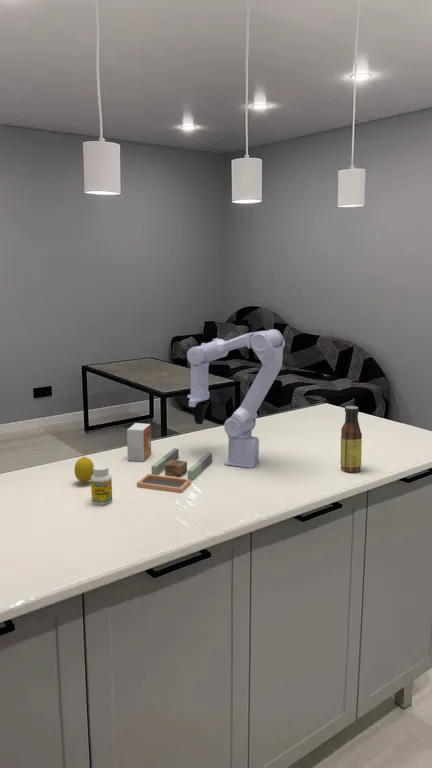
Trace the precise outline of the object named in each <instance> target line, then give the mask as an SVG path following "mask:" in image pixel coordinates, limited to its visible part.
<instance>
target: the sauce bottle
mask: <svg viewBox="0 0 432 768" xmlns="http://www.w3.org/2000/svg"><path fill="white" fill-rule="evenodd" d="M359 410H360V409H359V407H358V406H356V405H347V406H344V411H345V415H344V417H345V418H344V424H343V425H342V427H341V433H340V435H341V436H340V469H341V471H343V472H346V473H359V472H360V471H361V467H362V449H363V448H362V443H363V440H362V438H363V435H362V431H361V428H360V423H359Z"/></svg>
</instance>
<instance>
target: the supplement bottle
mask: <svg viewBox="0 0 432 768" xmlns="http://www.w3.org/2000/svg"><path fill="white" fill-rule="evenodd" d="M109 471H110V470H109V466H108V465H106V464H98V465H94V467H93V473H94V474H93V475H92V476H91V480H90V485H91V489H90V491H91V502H92V503H93V504H94V505H97V506H104V505H109V504H110V503H111V502H112V501H113V487H112V486H113V483H112V482H113V481H112V480H113V479H112V475H111V474H110V473H109Z"/></svg>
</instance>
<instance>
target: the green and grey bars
mask: <svg viewBox="0 0 432 768" xmlns="http://www.w3.org/2000/svg"><path fill="white" fill-rule="evenodd" d="M179 452H180V451H179V448H173V449H171V450H170V451H168V453H166V454H165V455H164V456H162V457H161V458H160V459H158V460H157V461H156V462H155V463H153V464H152V465H151V467H150V469H151V474H152V475H159V474H161V473H163V471H165V464H167V463H168V462H169V461H171V460H178V459H179V458H180V457H179V454H180V453H179ZM212 462H213V452H209V451H207V452H206V453H205V454H204V455H203V456H202V457H201V458H200V459H198V461H196V462H195V463H194V464H193V465H192V466H191V467H190V468H189V469H187V479H191V482H194V480H195V479H196V478H197V477H198V476H199V475H200V474H201V473H202V472H203V471H204V470H205V469H206V468H207V467H208V466H210V464H211V463H212Z"/></svg>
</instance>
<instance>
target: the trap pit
mask: <svg viewBox="0 0 432 768" xmlns="http://www.w3.org/2000/svg"><path fill="white" fill-rule="evenodd" d="M190 485H192V481H191V479H188V478H183V477H182V478H181V477H173V476H166V475H159V474H158V475H152V473H151V474H149V473H148V474H146V475H145V476H143V477H142V478H141V479H139V480H138V481H137V482H136V488H141V489H142V488H143V489H147V490H148V489H149V490H155V491H164V492H170V493H171V492H172V493H177V494H182V493H183V492H184V491H185V490H186V489H187V488H188V487H189V486H190Z"/></svg>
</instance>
